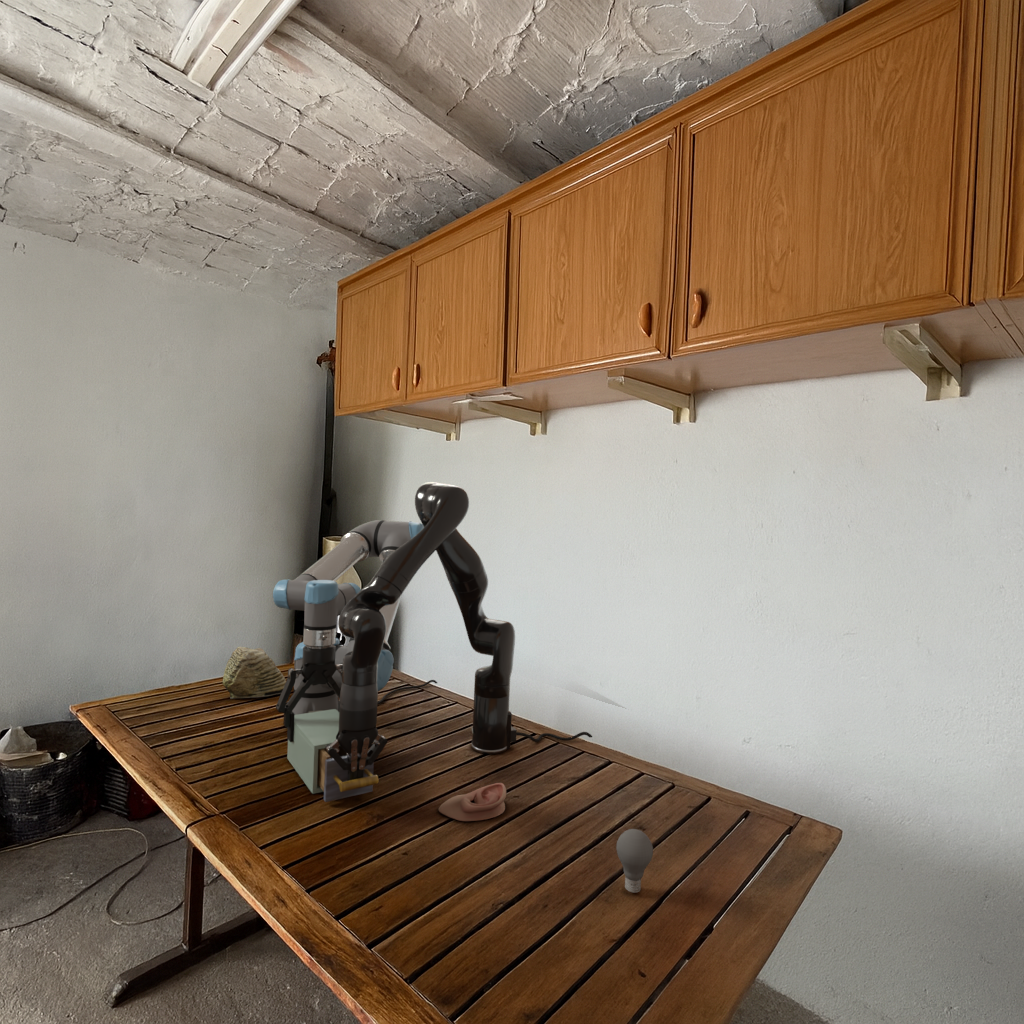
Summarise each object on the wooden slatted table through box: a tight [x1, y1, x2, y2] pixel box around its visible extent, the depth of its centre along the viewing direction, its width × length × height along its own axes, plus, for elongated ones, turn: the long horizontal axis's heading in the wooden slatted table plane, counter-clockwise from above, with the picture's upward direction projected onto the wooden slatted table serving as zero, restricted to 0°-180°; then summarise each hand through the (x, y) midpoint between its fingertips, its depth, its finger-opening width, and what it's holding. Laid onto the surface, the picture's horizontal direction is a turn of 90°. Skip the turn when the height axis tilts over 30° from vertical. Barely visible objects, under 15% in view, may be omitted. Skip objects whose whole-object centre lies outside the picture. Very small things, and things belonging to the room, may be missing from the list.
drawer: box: [317, 745, 379, 803], centre depth 138 cm, size 26×10×8 cm, turn 34°
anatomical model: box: [438, 782, 507, 822], centre depth 131 cm, size 13×4×12 cm
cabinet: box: [286, 709, 340, 795], centre depth 147 cm, size 21×11×10 cm, turn 34°
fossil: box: [222, 646, 287, 699], centre depth 198 cm, size 9×18×15 cm, turn 132°
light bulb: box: [615, 828, 654, 894], centre depth 106 cm, size 6×6×10 cm
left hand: (316, 735), depth 152 cm, fingers closed on cabinet, 11 cm apart
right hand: (355, 786), depth 130 cm, fingers closed
